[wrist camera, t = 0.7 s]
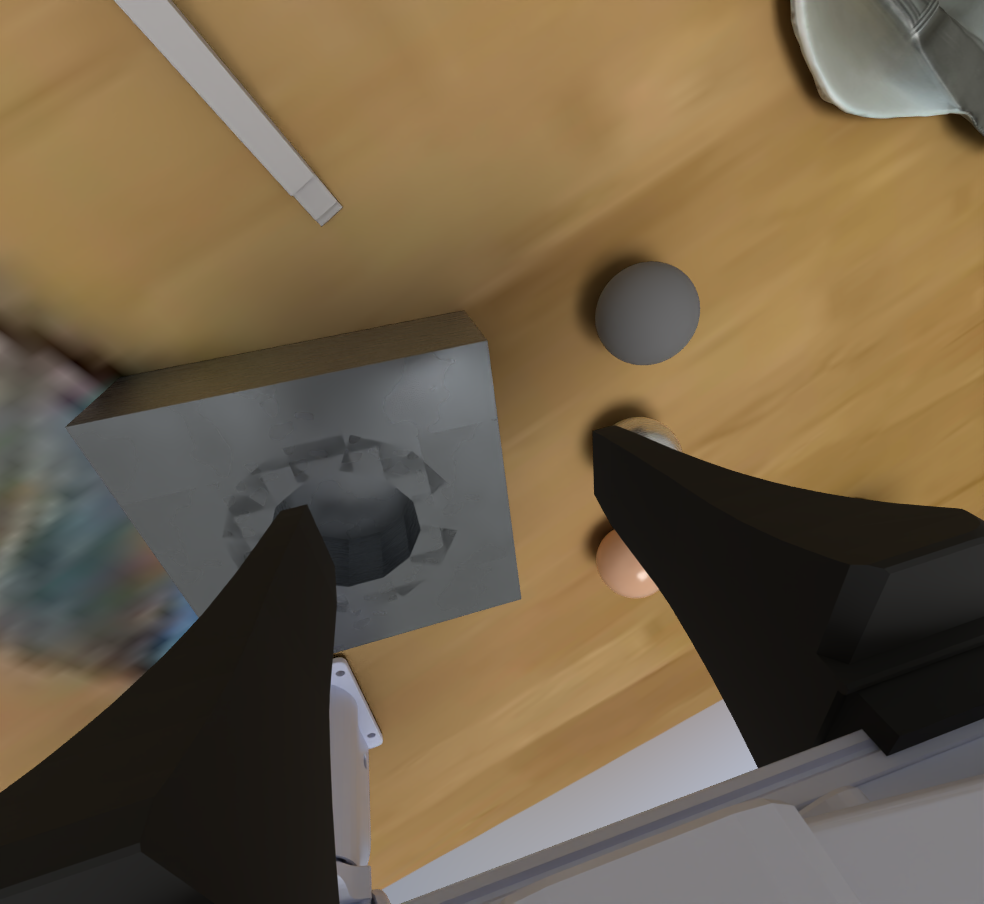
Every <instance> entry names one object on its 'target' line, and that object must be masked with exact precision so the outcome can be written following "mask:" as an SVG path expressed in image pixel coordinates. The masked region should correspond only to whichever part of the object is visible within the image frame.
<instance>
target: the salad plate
mask: <svg viewBox="0 0 984 904" xmlns="http://www.w3.org/2000/svg"><path fill="white" fill-rule="evenodd" d="M790 2H791V22H792V26H793V30H794V33H795V36H796V38H797V40H798V42H799V44H800V49H801V53H802V55H803V57H804V59H805V61H806V64H807V66H808V68H809V70H810V72H811V73H812V75H813V78H814V81H815V85H816V88H817V91H818V93H819V95H820V97H821V98H822V99H823V100H824V101H826V102H829V103H831V104H834V105H835V106H837V107H838V108H839V109H840V110H842V111H844V112H845V113H848V114H853V115H857V116H862V117H870V118H896V117H912V116H933V115H942V114H949V113H953V114H960V115H961V116H963V117H964V118H966V119H967V120H968V121H969V122H970V123H971V124H972V125H973V126H974V128H975V129H976V130H977V131H978V132H979V133H980V134H981V135H982V136H983V137H984V0H790Z"/></svg>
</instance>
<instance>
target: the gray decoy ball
mask: <svg viewBox="0 0 984 904" xmlns="http://www.w3.org/2000/svg"><path fill="white" fill-rule="evenodd" d="M699 316H700V301H699V297H698V294H697V291H696V288H695V286H694V285H693V283H692V281H691V280H690V279H689V278H688V276H687V275H685V274H684V273H683V272H682V271H681V270H679V269H678V268H676V267H674V266H672V265H669V264H667V263H662V262H652V261H651V262H642V263H638V264H635V265H632V266H630V267H627V268H625V269H624V270H622V271H621V272H619V273H618V274H617V275H615V276H614V277H613V278H612V279H611V280H610V281H609V282H608V284H607V285H606V286H605V288H604V289H603V291H602V293H601V295H600V297H599V300H598V303H597V307H596V314H595V323H596V329H597V332H598V335H599V338H600V340H601V342H602V343H603V345H604V346H605V348H606V349H607V350H608V351H609V352H610V353H611V354H612V355H614V356H615V357H616V358H618V359H620V360H622V361H624V362H627V363H631V364H635V365H651V364H656V363H660V362H663V361H665V360H667V359H669V358H671V357H673V356H674V355H676V354H677V353H678V352H680V351H681V350H682V349H683V348H684V347H685V346H686V345H687V343H688V342H689V341H690V339H691V338H692V336H693V334H694V332H695V330H696V328H697V325H698V321H699Z"/></svg>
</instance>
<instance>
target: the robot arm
mask: <svg viewBox="0 0 984 904" xmlns="http://www.w3.org/2000/svg"><path fill="white" fill-rule="evenodd" d="M593 468H594V495H595V496H596V498H597V500H598V502H599V504H600V506H601V508H602V510H603V512H604V513H605V515H606V517H607V519H608V520H609V522H610V524H611V525H612V527H613V528H614V530H615V531H616V532H617V534H618V535H619V536H620V538H621V539H622V540H623V542H624V543H625V545H626V546H627V547H628V549H629V550H630V551H631V553H632V554H633V555H634V557H635V558H636V559H637V561H638V562H639V563H640V565H641V566H642V567H643V569H644V570H645V571H646V573H647V574H648V575H649V577H650V578H651V579H652V581H653V582H654V583H655V585H656V586H657V587H658V588H659V590H660V591H661V593H662V594H663V596H664V597H665V599H666V600H667V602H668V603H669V604H670V606H671V608H672V609H673V611H674V613H675V614H676V616H677V618H678V619H679V621H680V623H681V625H682V626H683V628H684V630H685V631H686V633H687V635H688V636H689V638H690V640H691V641H692V643H693V645H694V647H695V649H696V650H697V652H698V654H699V656H700V657H701V659H702V661H703V663H704V664H705V666H706V668H707V670H708V672H709V673H710V675H711V677H712V679H713V681H714V683H715V685H716V686H717V688H718V690H719V692H720V694H721V696H722V698H723V700H724V701H725V703H726V705H727V707H728V709H729V711H730V713H731V715H732V717H733V718H734V720H735V722H736V724H737V726H738V728H739V730H740V732H741V734H742V737H743V738H744V740H745V742H746V744H747V747H748V749H749V751H750V753H751V755H752V757H753V759H754V761H755V763H756V765H757V767H758V769H755V770H753V771H750V772H748V773H745V774H742V775H740V776H737V777H734V778H732V779H729V780H726V781H724V782H721V783H718V784H716V785H713V786H710V787H708V788H705V789H703V790H700V791H697V792H695V793H692V794H689V795H687V796H684V797H681V798H679V799H676V800H673V801H671V802H668V803H665V804H663V805H660V806H658V807H655V808H653V809H650V810H647V811H644V812H642V813H639V814H636V815H634V816H631V817H628V818H626V819H623V820H621V821H618V822H615V823H613V824H610V825H607V826H605V827H602V828H599V829H597V830H594V831H592V832H589V833H586V834H584V835H581V836H578V837H576V838H573V839H570V840H568V841H565V842H562V843H560V844H557V845H554V846H552V847H549V848H547V849H544V850H541V851H539V852H536V853H533V854H531V855H528V856H525V857H523V858H520V859H517V860H515V861H512V862H510V863H507V864H504V865H502V866H499V867H496V868H494V869H491V870H489V871H486V872H483V873H481V874H478V875H475V876H473V877H470V878H467V879H465V880H462V881H460V882H457V883H454V884H451V885H449V886H446V887H444V888H441V889H438V890H436V891H433V892H430V893H428V894H425V895H422V896H420V897H417V898H414V899H412V900H409V901H406V902H404V903H401V904H984V521H983V520H981V519H980V518H978V517H976V516H974V515H973V514H971V513H969V512H967V511H965V510H963V509H957V508H945V507H933V506H921V505H909V504H897V503H888V502H880V501H873V500H865V499H858V498H851V497H844V496H838V495H832V494H826V493H821V492H816V491H811V490H806V489H801V488H796V487H791V486H787V485H783V484H779V483H774V482H771V481H767V480H763V479H760V478H756V477H752V476H749V475H745V474H742V473H738V472H735V471H732V470H729V469H726V468H723V467H720V466H717V465H714V464H711V463H709V462H706V461H703V460H700V459H698V458H695V457H692V456H690V455H687V454H685V453H682V452H680V451H677V450H675V449H672V448H670V447H667V446H665V445H663V444H660V443H658V442H656V441H653V440H651V439H649V438H646V437H644V436H641V435H639V434H637V433H634V432H632V431H629V430H627V429H624V428H622V427H619V426H616V425H613V426H609V427H606V428H602V429H598V430H594V431H593ZM336 611H337V592H336V576H335V565H334V563H333V561H332V558H331V556H330V554H329V552H328V549H327V547H326V545H325V543H324V541H323V538H322V536H321V534H320V532H319V529H318V527H317V525H316V523H315V521H314V518H313V516H312V514H311V512H310V509H309V507H308V505H307V504H306V505H302V506H298V507H294V508H290V509H286V510H282V511H280V513H279V514H278V515H277V516H276V518H275V519H274V520H273V522H272V523H271V525H270V526H269V527H268V529H267V530H266V532H265V533H264V535H263V536H262V537H261V539H260V540H259V542H258V543H257V544H256V546H255V547H254V549H253V550H252V551H251V553H250V554H249V555H248V557H247V558H246V560H245V561H244V562H243V564H242V565H241V566H240V568H239V569H238V570H237V572H236V573H235V574H234V576H233V577H232V578H231V579H230V581H229V582H228V583H227V584H226V586H225V587H224V588H223V589H222V591H221V592H220V593H219V594H218V596H217V597H216V598H215V599H214V600H213V602H212V603H211V604H210V605H209V607H208V608H207V609H206V610H205V612H204V613H203V614H202V615H201V616H200V617H199V618H198V620H197V621H196V622H195V623H194V624H193V625H192V626H191V627H190V628H189V630H188V631H187V632H186V633H185V634H184V635H183V636H182V637H181V638H180V639H179V640H178V641H177V642H176V643H175V644H174V645H173V646H172V647H171V649H170V650H169V651H168V652H167V653H166V654H165V655H164V656H163V657H162V658H161V659H160V660H159V661H158V662H157V663H156V664H154V665H153V666H152V667H151V668H150V669H149V670H148V671H147V672H146V673H145V674H144V675H143V676H142V677H140V678H139V679H138V680H137V681H136V682H135V683H134V684H133V685H132V686H131V687H130V688H129V689H128V690H127V691H125V692H124V693H123V694H122V695H121V696H120V697H119V698H118V699H117V700H116V701H115V702H114V703H112V704H111V705H110V706H109V707H108V708H107V709H106V710H104V711H103V712H102V713H101V714H100V715H98V716H97V717H96V718H95V719H94V720H93V721H91V722H90V723H89V724H88V725H87V726H86V727H84V728H83V729H82V730H81V731H79V732H78V733H77V734H76V735H75V736H73V737H72V738H71V739H70V740H68V741H67V742H66V743H65V744H63V745H62V746H61V747H60V748H59V749H57V750H56V751H55V752H54V753H52V754H51V755H50V756H49V757H47V758H46V759H45V760H43V761H42V762H41V763H40V764H38V765H37V766H36V767H34V768H33V769H32V770H30V771H29V772H28V773H26V774H25V775H24V776H22V777H21V778H20V779H18V780H17V781H16V782H14V783H13V784H12V785H10V786H9V787H8V788H6V789H5V790H3V791H2V792H1V793H0V904H391V903H390V902H389V899H388V897H387V895H386V894H385V893H384V892H383V891H382V890H380V889H374V890H371V866H369V865H368V866H367V864H368V861H369V856H370V848H371V827H370V789H369V751H368V749H371V748H374V747H377V746H379V745H381V744H382V742H383V736H382V734H381V731H380V729H379V727H378V725H377V723H376V721H375V719H374V717H373V715H372V713H371V711H370V709H369V706H368V704H367V702H366V700H365V698H364V696H363V694H362V692H361V690H360V688H359V686H358V683H357V681H356V679H355V677H354V675H353V673H352V671H351V669H350V667H349V665H348V663H347V661H346V659H344V658H342V657H337V658H333V650H334V638H335V625H336Z"/></svg>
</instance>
